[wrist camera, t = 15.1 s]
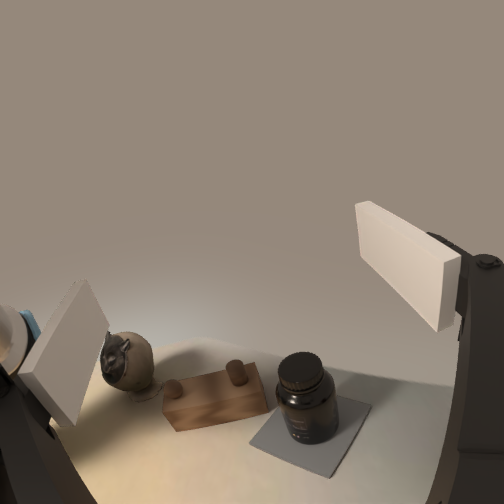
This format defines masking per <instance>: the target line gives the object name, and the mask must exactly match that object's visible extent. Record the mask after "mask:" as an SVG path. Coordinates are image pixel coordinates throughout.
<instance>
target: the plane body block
mask: <svg viewBox="0 0 504 504" xmlns="http://www.w3.org/2000/svg"><path fill="white" fill-rule="evenodd" d="M163 390H164V400H163V411H162V412H163V414H164V415H165V417H166V418H167V419H168V421H169V422H170V424H171V425H172V426H173V428H174V429H175V431H176V432H179V431H185V430H191V429H197V428H202V427H207V426H213V425H218V424H222V423H227V422H232V421H236V420H241V419H245V418H249V417H253V416H257V415H261V414H265V413H269V411H268V407H267V403H266V398H265V394H264V390H263V385H262V382H261V379H260V376H259V373H258V371H257V368H256V365H255V362H253V363H249V364H246V365H243V362H242V361H241V360H232V361H230V362H228V363H227V365H226V370H222V371H218V372H214V373H209V374H205V375H201V376H196V377H192V378H187V379H182V380H178V381H177V380H169V381H167V382H166V383H165V384H164V387H163Z"/></svg>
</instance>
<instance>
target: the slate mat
mask: <svg viewBox="0 0 504 504" xmlns="http://www.w3.org/2000/svg"><path fill="white" fill-rule="evenodd" d="M336 397H337V405H338V412H339V426H338V429H337V431H336V433H335V434H334V435H333V436H332V437H331V438H330V439H328V440H327V441H325V442H323V443H320V444H316V445H305V444H301V443H299V442H297V441H295V440H294V439H293V438H292V437H291V436H290V434H289V432H288V429H287V427H286V424H285V421H284V418H283V415H282V413H281V410H280V407H278V408H277V409H276V411H275V412H274V413H273V414H272V416H271V417H270V418H269V419H268V421H267V422H266V423H265V424H264V425H263V427H262V428H261V429H260V430H259V431H258V433H257V434H256V435H255V436H254V437H253V438H252V440H251V441H250V442H249V444H250V445H252V446H254V447H256V448H258V449H260V450H262V451H264V452H266V453H269V454H271V455H273V456H275V457H277V458H280V459H282V460H284V461H286V462H289V463H291V464H293V465H296V466H298V467H301V468H303V469H306V470H308V471H311V472H313V473H316V474H318V475H321V476H324V477H326V478H329V479H330V477H331V476H332V474H333V472H334V471H335V469H336V468H337V466H338V465H339V463H340V461H341V460H342V458H343V456H344V455H345V453H346V451H347V450H348V448H349V446H350V445H351V443H352V441H353V439H354V438H355V436H356V434H357V432H358V431H359V429H360V427H361V425H362V423H363V421H364V420H365V418H366V416H367V414H368V412H369V410H370V408H371V405H370V404H366V403H362V402H358V401H354V400H351V399H347V398H343V397H340V396H336Z"/></svg>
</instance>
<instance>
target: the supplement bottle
mask: <svg viewBox="0 0 504 504" xmlns="http://www.w3.org/2000/svg"><path fill="white" fill-rule="evenodd" d="M278 375H279V379H280V380H279V382H278V384H277V387H276V398H277V401H278V404H279V407H280V410H281V413H282V415H283V418H284V421H285V424H286V427H287V429H288V432H289V434H290V436H291V437H292V438H293V439H294V440H295V441H297V442H299V443H301V444H305V445H316V444H320V443H323V442H325V441H327V440H328V439H330V438H331V437H332V436H333V435H334V434H335V433H336V431H337V429H338V426H339V412H338V405H337V397H336V390H335V384H334V380H333V378H332V376H331V375H330V374H329V373H328V372H327V371H326V370H325V369H323V367H322V362H321V360H320V358H318V356H316V355H315V354H313V353H310V352H299V353H294V354H291V355H289V356H288V357H286V358H285V359H284V360H282V362H281V363H280V365H279V368H278Z"/></svg>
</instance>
